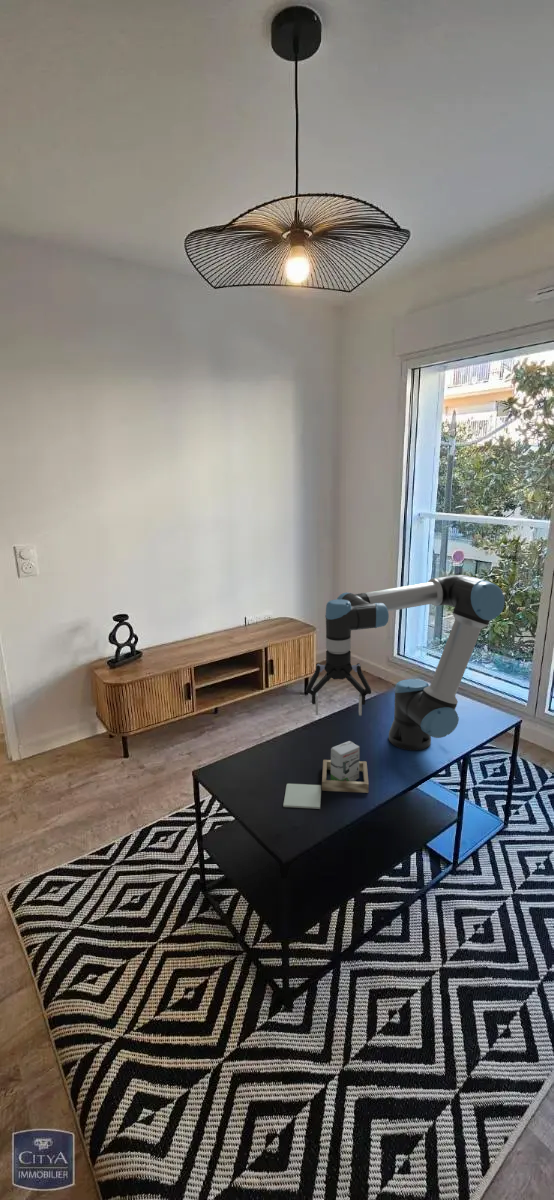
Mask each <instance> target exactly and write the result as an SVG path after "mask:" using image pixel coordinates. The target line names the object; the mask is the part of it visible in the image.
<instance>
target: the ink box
mask: <svg viewBox="0 0 554 1200" xmlns="http://www.w3.org/2000/svg"><path fill="white" fill-rule="evenodd" d="M360 752H361V751H360V745H358V744H355V743H354V742H353V741H351V740H348V741H345V742H342V743H340V744H338V745H335V746H332V747H331V748H330V760H331V770H330V780H335V781H357V780H358V779H360V771H359V761H360Z"/></svg>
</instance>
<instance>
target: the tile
mask: <svg viewBox="0 0 554 1200" xmlns="http://www.w3.org/2000/svg"><path fill="white" fill-rule="evenodd" d="M321 799H322V784H305V783H286V786H285V794H284V800H283V804H282V805H283V808H295V809H296V808H297V809H298V808H299V809H315V810H316V809H317V810H321V802H322V801H321Z"/></svg>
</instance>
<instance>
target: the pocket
mask: <svg viewBox="0 0 554 1200" xmlns="http://www.w3.org/2000/svg"><path fill="white" fill-rule="evenodd" d="M367 764H368V763H367V761H365V760H363V761H360V760H359V772H362V776H363V778H362V780H363V781H357V780H355V781H335V780H331V779H327V775H328V773H327V771H331V759H323V760H322V775H321V777H322V778H321V792H322V791H323V792H324V791H326V792H345V793H346V792H347V793H362V794H363V793H364V794H365V793H367V794H368V793H369V789H370V788H369V785H370V784H369V776H368V775H369V774H368V765H367Z"/></svg>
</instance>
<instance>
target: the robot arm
mask: <svg viewBox="0 0 554 1200" xmlns="http://www.w3.org/2000/svg"><path fill="white" fill-rule="evenodd" d="M505 601H506V600H505V595H504V593H503V590H502V589H501V587H500V586H499V585H497V584H495V583H493V582H490V581H489V580H486V579H482V578H481V579H480V578H477V577H474V576H471V575H468V574H452V575H446V576H439V577H435V578H434V577H433V578H430V579H429V580H428V581H427V582H421V583H416V584H409V585H403V586H399V587H398V586H397V587H392V588H386V589H380V590H375V591H367V592H361V593H355V594H354V593H352V592H343V593H341V594H339V595H338V597H337V598H336V599H332V600H329V601H328V602H327V603H326V606H325V614H324V616H325V617H324V618H325V649H326V650H325V662H326V663H325V664H321V663H319V662H318V663H316V666H315V671H314V672H313V674H312V676H311V677H310V680H309V682H308V684H307V686H306V687H305V693H306V694H310V695H311V704H312V705H315V715H316V716H319V691H321V690H322V688H323V687H324V686H325V685H326V683H327V682H329V681H330V680H331V679H332V680H344V679H346V680H347V681H348V682H349V683H350V684H351V685H352V686H353V687H354V688H355V689H356V690H357V692H358V716H360V717H361V716H362V715H363V714H362V711H363V710H362V709H363V708H362V706H363V705H364V706H365V705H366V696H367V695H371V694H372V689H371V687H370V684H369V682H368V680H367V679H366V677H365V674H364V673H363V671H362V667H361V664H360V662H359V663H358V662H357V663H356V664H354V665H353V664H351V663H352V662H351V661H352V659H351V657H352V656H351V655H352V654H351V647H352V646H351V645H352V644H351V642H352V641H351V639H352V634H351V633H352V631H357V630H358V631H359V630H366V629H368V630H369V629H377V628H382V627H385V626H386V625H388V623H389V618H390V615H389V614H390V613H389V612H392V611H398V610H405V609H409V608H410V609H411V608H416V607H421V606H426V605H433V606H435V607H438V606H449V607H453V611H452V615H453V617H454V621H453V624H452V627H451V630H450V632H449V636H448V638H447V641H446V642H445V645H444V648H443V651H442V654H441V656H440V659H439V661H438V664H437V666H436V669H435V672H434V674H433V677H432V679H431V682H430V685H429V683H428V682H427V681H425V680H422V679H415V678H412V679H409V678H408V679H403V680H399V681H398V682H397V683H396V684H395V687H394V707H393V708H394V713H393V715H394V716H393V721H392V723H391V726H390V729H389V731H388V741H389V742H390V743H391V744H392V745H393V746H394V747H396V748H398V749H401V750H406V751H422V750H425V749H427V748H429V747H430V746H431V743H432V738H435V739H442V738H445V737H446V736H448V735H450V734H452V733H453V732H454V731H455V730H456V728H457V727H458V724H459V718H460V717H459V716H458V715H459V714H458V712H457V711H456V707H457V706H458V703H459V702H458V699H457V696H456V695H457V693H458V690H459V687H460V684H461V682H462V679H463V676H464V674H465V672H466V669H467V666H468V664H469V662H470V658H471V657H472V653H473V651H474V649H475V647H476V644H477V642H478V641H477V640H478V639H479V636H480V634H481V630H482V629H483V628H484V629H485V628H486V627H488V626H489V624H490V622H491V621H493V620H494V619H495V620H496V618H497V617H499V616H500V615H501V613H502V612H503V609H504V607H505ZM323 670H325V672H326V673H325V674H324V676H322V678H321V679H320V680H319V681H318V682H317V683H316V681H317V679H318V677H319V675H320V673H322V672H323ZM352 671H354V673H357V675H358V678H359V679H360V682H361V683H362V685H363V686H362V685H361V684H360V683H359V682H358V681H357V680H356V679H355V678H354V677H353V675H352V674H351V672H352ZM315 683H316V685H314V684H315Z"/></svg>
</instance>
